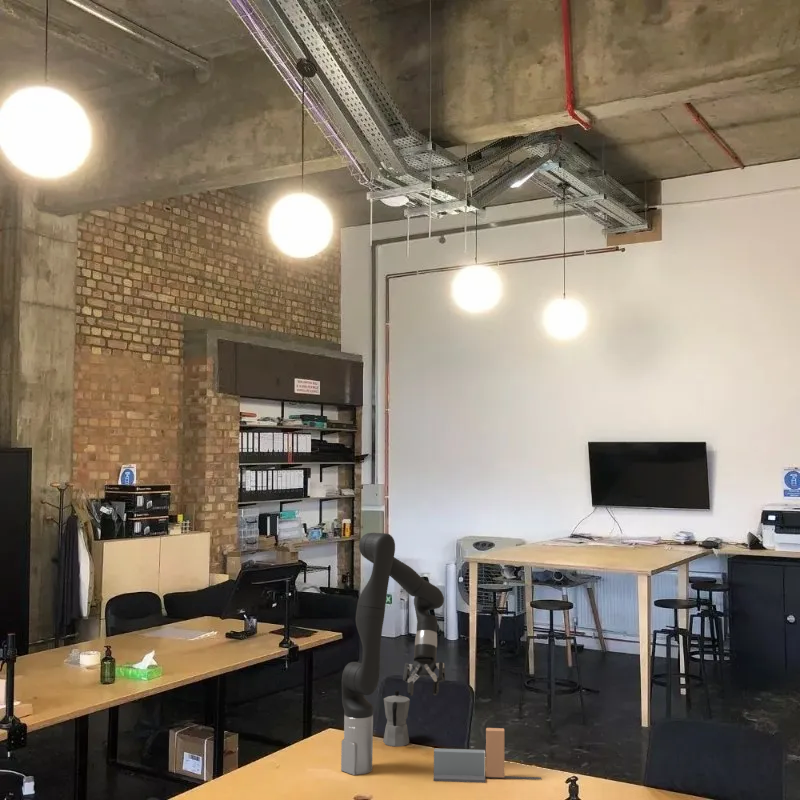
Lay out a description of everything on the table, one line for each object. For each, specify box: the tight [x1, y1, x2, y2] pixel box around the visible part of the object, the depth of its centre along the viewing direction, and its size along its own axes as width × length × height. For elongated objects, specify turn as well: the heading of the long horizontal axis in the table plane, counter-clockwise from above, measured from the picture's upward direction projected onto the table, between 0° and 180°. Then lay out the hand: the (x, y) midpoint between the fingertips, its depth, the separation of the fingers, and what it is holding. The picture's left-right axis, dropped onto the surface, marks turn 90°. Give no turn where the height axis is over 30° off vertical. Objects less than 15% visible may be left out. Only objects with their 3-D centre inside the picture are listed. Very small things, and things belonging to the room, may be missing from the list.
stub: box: [485, 727, 505, 778], centre depth 269 cm, size 6×3×14 cm, turn 86°
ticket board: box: [432, 747, 542, 784], centre depth 269 cm, size 34×10×8 cm, turn 86°
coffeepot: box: [383, 689, 411, 748], centre depth 302 cm, size 15×9×18 cm, turn 175°
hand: (422, 694), depth 283 cm, fingers open, 8 cm apart
